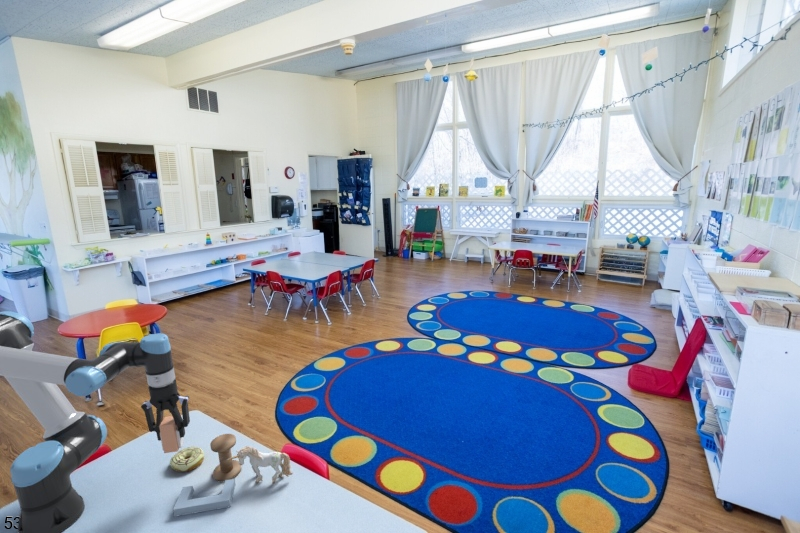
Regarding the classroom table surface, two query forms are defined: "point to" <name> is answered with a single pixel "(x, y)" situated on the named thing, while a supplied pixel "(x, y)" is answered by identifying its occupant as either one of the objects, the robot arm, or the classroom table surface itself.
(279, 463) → the unicorn figurine
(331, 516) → the classroom table surface
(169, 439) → the tab
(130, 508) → the classroom table surface
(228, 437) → the bobbin
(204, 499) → the u-shaped block
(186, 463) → the decorated donut
